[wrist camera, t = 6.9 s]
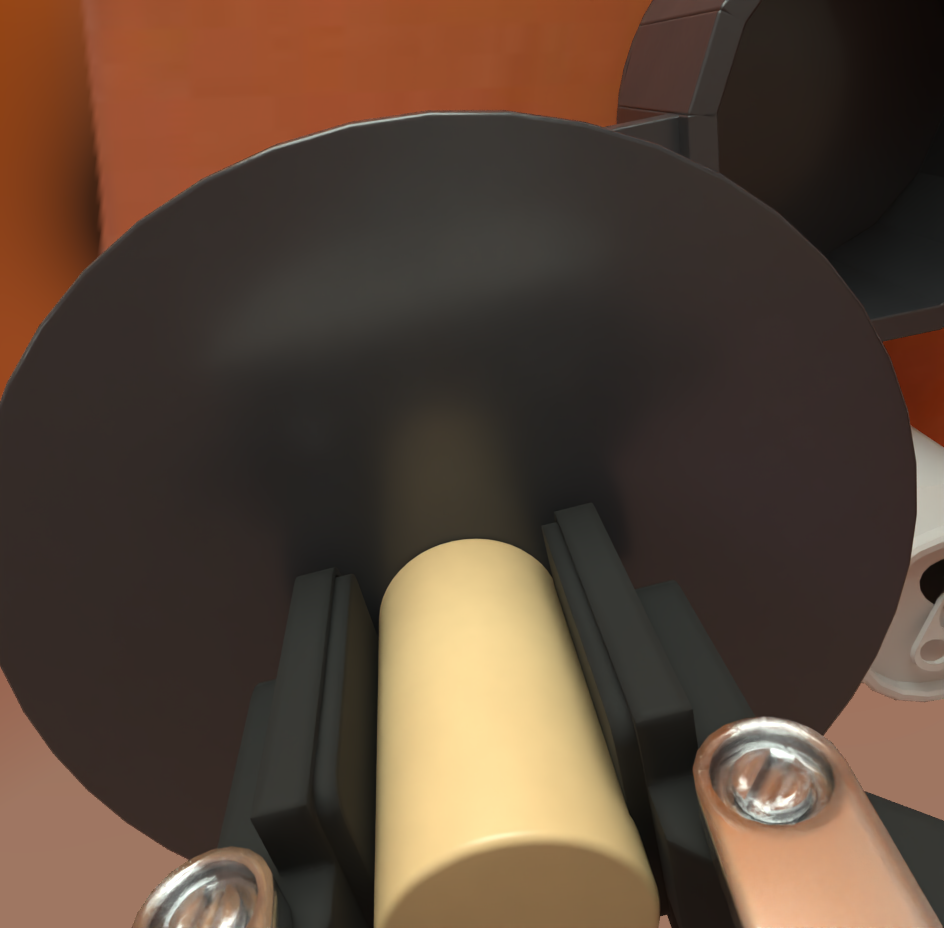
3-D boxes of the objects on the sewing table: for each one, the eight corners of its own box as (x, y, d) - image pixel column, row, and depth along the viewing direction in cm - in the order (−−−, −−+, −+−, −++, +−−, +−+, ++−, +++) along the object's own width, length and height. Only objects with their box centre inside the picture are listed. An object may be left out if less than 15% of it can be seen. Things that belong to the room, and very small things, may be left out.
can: (896, 392, 33) (1145, 548, 22) (807, 541, 35) (987, 743, 25) (739, 340, 31) (924, 481, 20) (659, 501, 34) (784, 698, 23)
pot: (512, -46, 24) (557, -92, 18) (1065, -163, 24) (1317, -251, 18) (564, 327, 30) (613, 399, 23) (1016, 232, 30) (1194, 277, 23)
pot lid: (-188, 239, 9) (-940, 440, 4) (896, -1, 9) (1556, -112, 4) (198, 922, 15) (96, 1369, 10) (864, 775, 15) (1118, 1144, 10)
